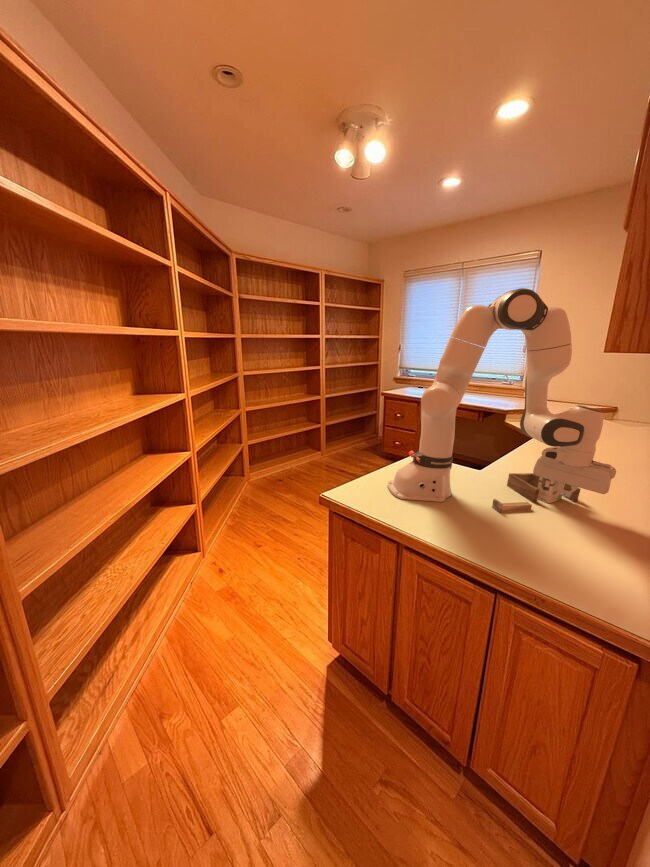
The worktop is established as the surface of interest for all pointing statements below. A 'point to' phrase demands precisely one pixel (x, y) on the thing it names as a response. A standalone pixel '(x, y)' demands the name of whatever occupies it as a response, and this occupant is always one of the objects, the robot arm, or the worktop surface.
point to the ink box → (548, 490)
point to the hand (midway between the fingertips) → (564, 496)
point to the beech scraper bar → (510, 506)
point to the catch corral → (533, 486)
